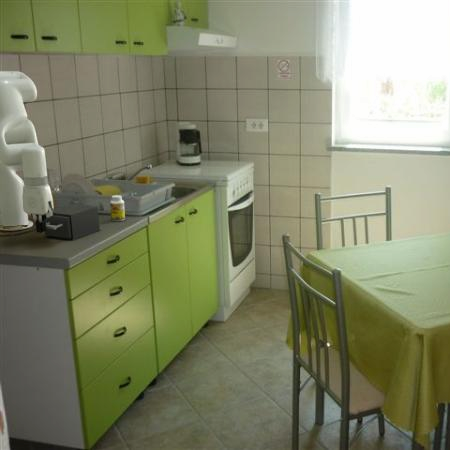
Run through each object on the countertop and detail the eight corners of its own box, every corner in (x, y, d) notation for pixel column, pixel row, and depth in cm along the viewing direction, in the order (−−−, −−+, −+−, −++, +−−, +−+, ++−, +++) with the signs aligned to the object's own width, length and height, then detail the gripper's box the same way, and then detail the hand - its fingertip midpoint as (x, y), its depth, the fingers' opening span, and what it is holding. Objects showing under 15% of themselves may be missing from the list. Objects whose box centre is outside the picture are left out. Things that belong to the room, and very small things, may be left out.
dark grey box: (73, 240, 216) (70, 214, 214) (46, 236, 220) (43, 211, 218) (99, 230, 229) (97, 206, 227) (74, 226, 234) (71, 203, 231)
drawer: (59, 241, 211) (57, 220, 209) (35, 238, 215) (33, 217, 213) (94, 229, 227) (92, 209, 225) (70, 226, 231) (69, 207, 229)
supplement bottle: (108, 220, 243) (106, 196, 241) (118, 217, 248) (116, 194, 245) (118, 222, 241) (116, 198, 238) (128, 219, 245) (126, 195, 243)
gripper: (11, 181, 204) (17, 232, 209) (45, 185, 199) (50, 236, 204) (27, 178, 211) (33, 227, 215) (60, 181, 206) (65, 231, 210)
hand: (41, 231), depth 210 cm, fingers closed
